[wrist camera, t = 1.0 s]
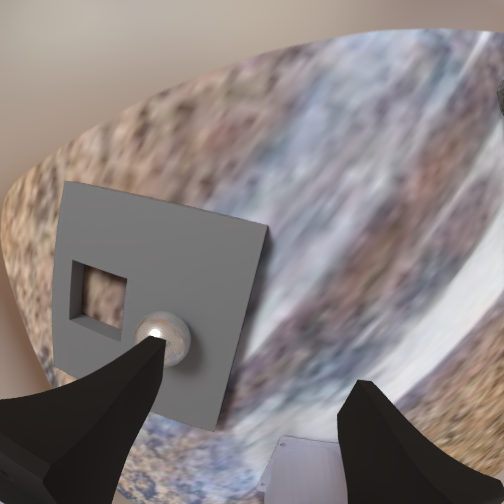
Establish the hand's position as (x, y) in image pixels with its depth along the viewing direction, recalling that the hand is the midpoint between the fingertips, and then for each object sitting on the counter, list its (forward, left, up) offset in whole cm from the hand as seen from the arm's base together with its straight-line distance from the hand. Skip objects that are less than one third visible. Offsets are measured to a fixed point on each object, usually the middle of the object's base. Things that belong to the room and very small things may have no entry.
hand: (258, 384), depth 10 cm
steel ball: (-4, +6, -9) cm, 12 cm away
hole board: (-4, +10, -13) cm, 17 cm away
